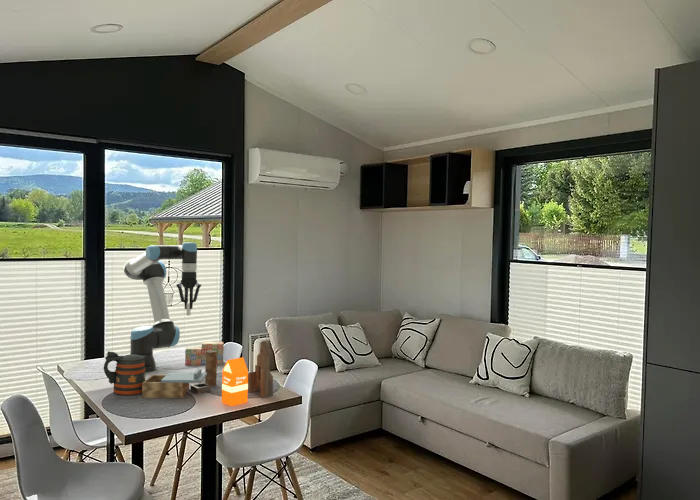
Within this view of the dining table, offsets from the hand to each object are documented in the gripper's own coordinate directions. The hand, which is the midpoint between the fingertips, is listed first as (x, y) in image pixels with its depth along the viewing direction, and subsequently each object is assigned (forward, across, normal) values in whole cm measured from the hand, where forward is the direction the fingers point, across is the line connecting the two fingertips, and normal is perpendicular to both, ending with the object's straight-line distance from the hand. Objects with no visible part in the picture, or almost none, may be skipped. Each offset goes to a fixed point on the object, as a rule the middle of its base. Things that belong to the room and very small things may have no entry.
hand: (188, 315), depth 286 cm
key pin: (+32, +16, -18) cm, 40 cm away
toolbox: (+32, -2, -33) cm, 46 cm away
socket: (+32, +13, -28) cm, 45 cm away
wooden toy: (+33, +42, -32) cm, 62 cm away
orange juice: (+33, +32, -46) cm, 65 cm away
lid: (+25, +6, -33) cm, 42 cm away
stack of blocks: (+33, +3, +27) cm, 43 cm away
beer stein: (+33, -22, -31) cm, 50 cm away
